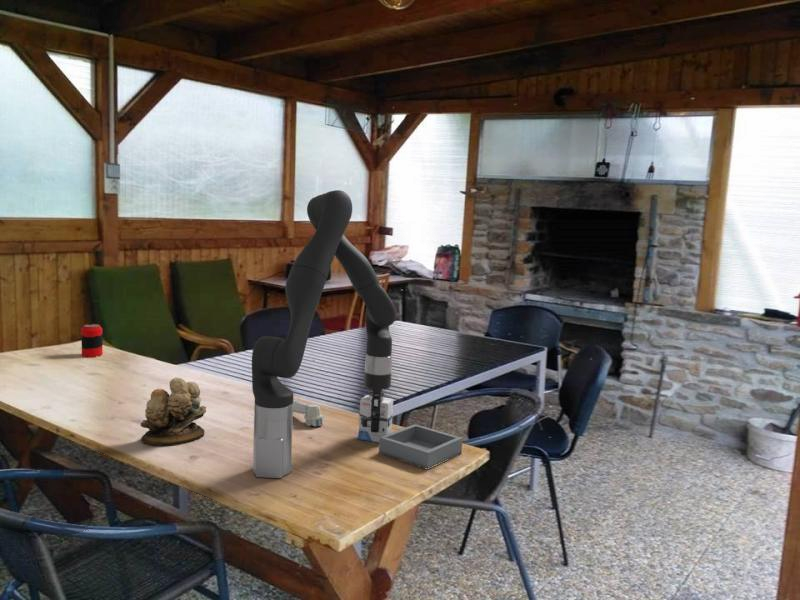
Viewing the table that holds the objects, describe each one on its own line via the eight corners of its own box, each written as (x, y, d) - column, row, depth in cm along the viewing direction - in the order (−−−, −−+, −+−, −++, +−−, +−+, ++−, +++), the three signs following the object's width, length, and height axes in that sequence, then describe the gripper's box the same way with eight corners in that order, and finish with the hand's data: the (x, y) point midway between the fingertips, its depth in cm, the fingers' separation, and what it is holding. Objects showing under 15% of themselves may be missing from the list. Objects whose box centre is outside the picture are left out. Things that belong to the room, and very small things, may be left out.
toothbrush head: (281, 393, 226) (326, 402, 207) (282, 413, 226) (327, 424, 208) (267, 395, 222) (312, 404, 204) (268, 416, 223) (312, 427, 204)
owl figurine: (195, 426, 202) (196, 368, 199) (215, 438, 193) (217, 377, 191) (133, 437, 190) (134, 376, 187) (151, 450, 181) (152, 386, 179)
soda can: (99, 352, 282) (98, 323, 280) (105, 356, 276) (105, 326, 275) (79, 354, 277) (78, 324, 276) (85, 358, 272) (84, 327, 270)
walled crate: (461, 453, 191) (462, 438, 190) (427, 469, 178) (428, 452, 177) (414, 439, 200) (415, 424, 200) (378, 453, 188) (379, 437, 187)
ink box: (357, 439, 198) (359, 398, 196) (363, 434, 202) (365, 394, 201) (386, 444, 195) (388, 403, 193) (391, 438, 200) (393, 398, 198)
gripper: (391, 377, 189) (387, 437, 191) (391, 365, 203) (388, 421, 205) (363, 376, 189) (360, 436, 191) (365, 363, 203) (363, 419, 205)
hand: (375, 428), depth 198 cm, fingers closed on ink box, 6 cm apart
